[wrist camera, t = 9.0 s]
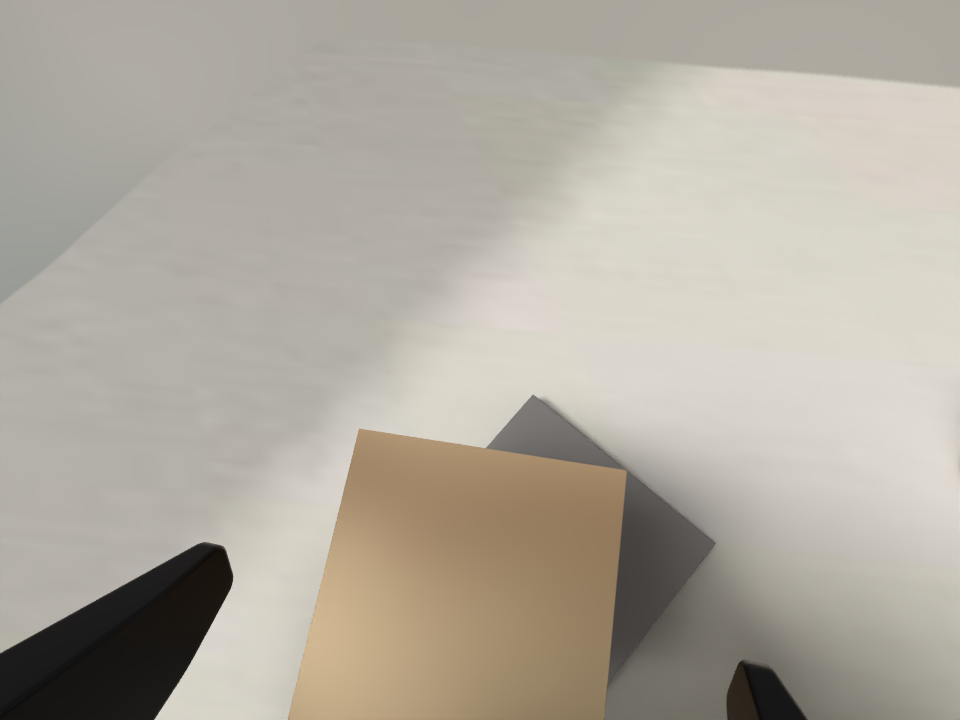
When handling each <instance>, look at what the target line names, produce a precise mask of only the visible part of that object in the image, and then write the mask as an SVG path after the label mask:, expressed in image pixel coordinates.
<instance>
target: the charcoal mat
mask: <svg viewBox="0 0 960 720" xmlns="http://www.w3.org/2000/svg"><path fill="white" fill-rule="evenodd" d="M486 449H492V450H499V451H505V452H512V453H518V454H525V455H531V456H537V457H544V458H550V459H557V460H563V461H570V462H576V463H582V464H589V465H595V466H602V467H608V468H615V469H621V470H625V469H624V468H623V467H621V466H620V465H619V464H618V463H617V462H615V461H614V460H613V459H612V458H610V457H609V456H608V455H607V454H606V453H604V452H603V451H602V450H601V449H599V448H598V447H597V446H596V445H594V444H593V443H592V442H591V441H590V440H588V439H587V438H586V437H585V436H583V435H582V434H581V433H580V432H579V431H577V430H576V429H575V428H574V427H572V426H571V425H570V424H569V423H567V422H566V421H565V420H564V419H563V418H561V417H560V416H559V415H558V414H556V413H555V412H554V411H553V410H552V409H550V408H549V407H548V406H547V405H545V404H544V403H543V402H542V401H540V400H539V399H538V398H537V397H536V396H534V395H532V396H531V397H530V399H529V400H528V401H527V402H526V403H525V404H524V405H523V407H522V408H521V409H520V410H519V411H518V412H517V413H516V415H515V416H514V417H513V418H512V419H511V420H510V421H509V423H508V424H507V425H506V426H505V427H504V428H503V429H502V431H501V432H500V433H499V434H498V435H497V436H496V437H495V439H494V440H493V441H492V442H491V443H490V444H489V445H488V447H487V448H486ZM714 544H715V542H713V541H712V540H711V539H710V538H709V537H707V536H706V535H705V534H704V533H702V532H701V531H700V530H699V529H697V528H696V527H695V526H694V525H693V524H691V523H690V522H689V521H688V520H686V519H685V518H684V517H683V516H682V515H680V514H679V513H678V512H677V511H675V510H674V509H673V508H672V507H671V506H669V505H668V504H667V503H666V502H664V501H663V500H662V499H661V498H659V497H658V496H657V495H656V494H655V493H653V492H652V491H651V490H650V489H648V488H647V487H646V486H645V485H644V484H642V483H641V482H640V481H639V480H637V479H636V478H635V477H634V476H632V475H631V474H630V473H629V472H628V471H627V474H626V485H625V496H624V507H623V518H622V529H621V540H620V551H619V562H618V573H617V584H616V595H615V606H614V617H613V628H612V639H611V650H610V661H609V672H608V682H609V681H610V679H611V678H612V677H613V675H614V674H615V673H616V672H617V670H618V669H619V668H620V666H621V665H622V664H623V663H624V661H625V660H626V659H627V657H628V656H629V655H630V653H631V652H632V651H633V650H634V648H635V647H636V646H637V644H638V643H639V642H640V640H641V639H642V638H643V637H644V635H645V634H646V633H647V631H648V630H649V629H650V627H651V626H652V625H653V624H654V622H655V621H656V620H657V618H658V617H659V616H660V615H661V613H662V612H663V611H664V609H665V608H666V607H667V605H668V604H669V603H670V602H671V600H672V599H673V598H674V596H675V595H676V594H677V592H678V591H679V590H680V589H681V587H682V586H683V585H684V583H685V582H686V581H687V579H688V578H689V577H690V576H691V574H692V573H693V572H694V570H695V569H696V568H697V567H698V565H699V564H700V563H701V561H702V560H703V559H704V557H705V556H706V555H707V554H708V552H709V551H710V550H711V548H712V547H713V546H714Z"/></svg>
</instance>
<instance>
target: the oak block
mask: <svg viewBox="0 0 960 720" xmlns="http://www.w3.org/2000/svg"><path fill="white" fill-rule="evenodd" d="M626 474H627V470H621V469H615V468H608V467H602V466H595V465H589V464H582V463H576V462H570V461H563V460H557V459H550V458H544V457H537V456H531V455H525V454H518V453H512V452H505V451H499V450H492V449H486V448H480V447H473V446H467V445H460V444H454V443H447V442H441V441H435V440H428V439H422V438H415V437H409V436H402V435H396V434H390V433H383V432H377V431H370V430H364V429H359V431H358V435H357V440H356V444H355V448H354V452H353V456H352V460H351V464H350V468H349V472H348V476H347V480H346V484H345V488H344V492H343V497H342V501H341V505H340V509H339V513H338V517H337V521H336V525H335V529H334V533H333V537H332V541H331V545H330V549H329V554H328V558H327V562H326V566H325V570H324V574H323V578H322V582H321V586H320V590H319V594H318V598H317V602H316V606H315V611H314V615H313V619H312V623H311V627H310V631H309V635H308V639H307V643H306V647H305V651H304V655H303V659H302V663H301V668H300V672H299V676H298V680H297V684H296V688H295V692H294V696H293V700H292V704H291V708H290V712H289V716H288V720H604V716H605V705H606V694H607V683H608V672H609V661H610V650H611V639H612V628H613V617H614V606H615V595H616V584H617V573H618V562H619V551H620V540H621V529H622V518H623V507H624V496H625V485H626Z"/></svg>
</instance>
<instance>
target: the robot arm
mask: <svg viewBox="0 0 960 720" xmlns="http://www.w3.org/2000/svg"><path fill="white" fill-rule="evenodd" d="M232 583H233V573H232V569H231V566H230V562H229V559H228V555H227V552H226V550H225V548H224V547H223V546H221V545H217V544H212V543H208V542H203V543H200V544H197V545H195V546H194V547H192V548H190V549H188V550H186V551H184V552H183V553H181V554H179V555H177V556H175V557H174V558H172V559H170V560H168V561H166V562H165V563H163V564H161V565H159V566H157V567H156V568H154V569H152V570H150V571H148V572H147V573H145V574H143V575H141V576H139V577H137V578H136V579H134V580H132V581H130V582H128V583H127V584H125V585H123V586H121V587H119V588H118V589H116V590H114V591H112V592H110V593H109V594H107V595H105V596H103V597H101V598H100V599H98V600H96V601H94V602H92V603H90V604H89V605H87V606H85V607H83V608H81V609H80V610H78V611H76V612H74V613H72V614H71V615H69V616H67V617H65V618H63V619H62V620H60V621H58V622H56V623H54V624H53V625H51V626H49V627H47V628H45V629H43V630H42V631H40V632H38V633H36V634H34V635H33V636H31V637H29V638H27V639H25V640H24V641H22V642H20V643H18V644H16V645H15V646H13V647H11V648H9V649H7V650H5V651H4V652H2V653H0V720H154V719H155V718H156V716H157V715H158V713H159V712H160V710H161V709H162V707H163V706H164V704H165V702H166V701H167V699H168V698H169V696H170V695H171V693H172V692H173V690H174V689H175V687H176V686H177V684H178V683H179V681H180V679H181V678H182V676H183V675H184V673H185V671H186V670H187V668H188V666H189V665H190V663H191V661H192V659H193V658H194V656H195V654H196V652H197V650H198V648H199V647H200V645H201V643H202V641H203V639H204V637H205V635H206V634H207V632H208V630H209V628H210V626H211V624H212V622H213V621H214V619H215V617H216V615H217V613H218V611H219V609H220V608H221V606H222V604H223V602H224V600H225V598H226V596H227V595H228V593H229V591H230V589H231V586H232ZM727 718H728V720H808V719H807V718H806V716H805V715H804V713H803V712H802V710H801V709H800V708H799V706H798V705H797V703H796V702H795V700H794V699H793V697H792V696H791V695H790V693H789V692H788V690H787V689H786V687H785V686H784V684H783V683H782V681H781V680H780V679H779V677H778V676H777V674H776V673H775V672H774V670H773V669H772V668H770V667H769V666H767V665H765V664H760V663H756V662H751V661H747V660H742V661H741V662H739V664H738V666H737V669H736V671H735V674H734V676H733V679H732V681H731V684H730V687H729V689H728V693H727Z"/></svg>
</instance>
